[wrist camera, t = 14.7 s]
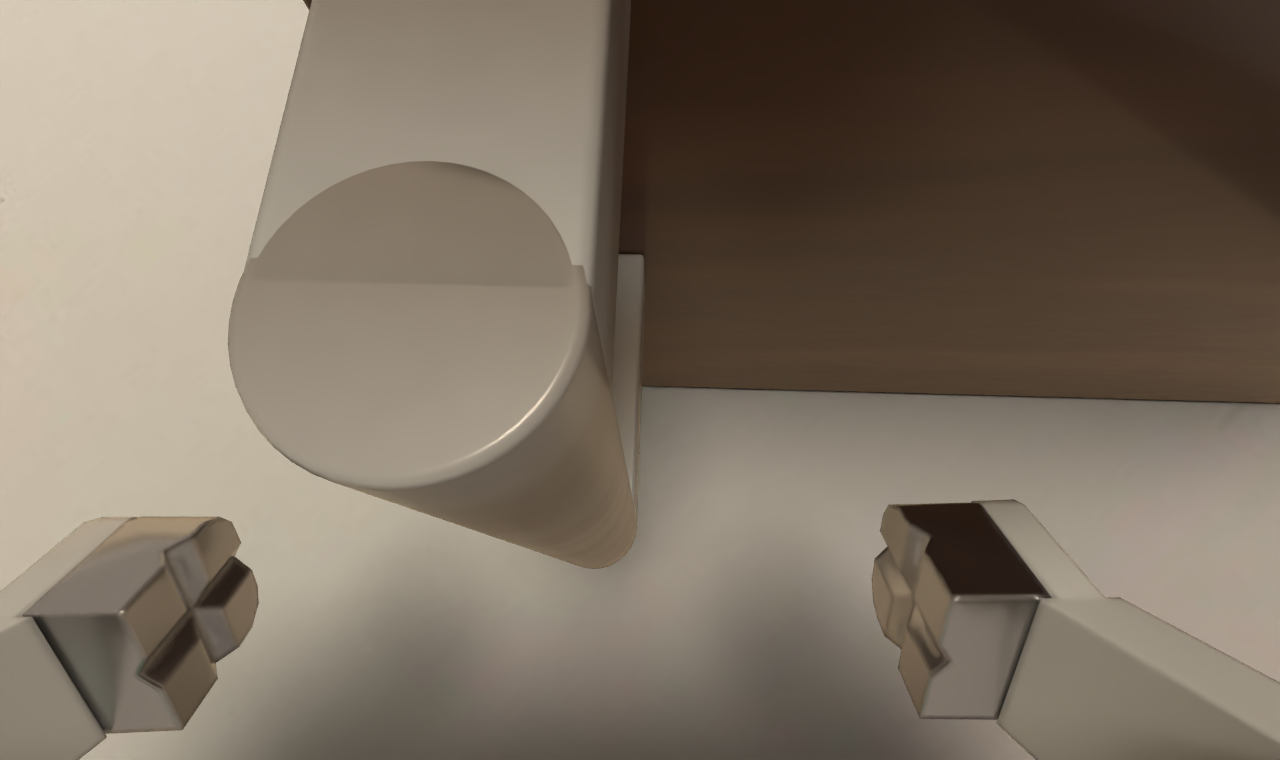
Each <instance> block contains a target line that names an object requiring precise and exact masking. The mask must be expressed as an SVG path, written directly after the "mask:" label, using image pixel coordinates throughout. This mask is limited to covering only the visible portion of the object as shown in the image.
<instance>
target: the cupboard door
mask: <svg viewBox="0 0 1280 760" xmlns="http://www.w3.org/2000/svg"><path fill="white" fill-rule="evenodd" d="M303 1H304V2H305V4H306V6H307V7H308V9H309V14H308V18H307V22H306V26H305V30H304V34H303V38H302V42H301V46H300V50H299V54H298V58H297V62H296V66H295V70H294V74H293V78H292V82H291V86H290V90H289V94H288V98H287V102H286V106H285V110H284V114H283V118H282V122H281V126H280V130H279V134H278V138H277V142H276V146H275V150H274V154H273V158H272V162H271V166H270V169H269V173H268V177H267V181H266V185H265V189H264V193H263V197H262V201H261V205H260V209H259V213H258V217H257V221H256V225H255V229H254V233H253V237H252V241H251V245H250V249H249V253H248V257H247V261H246V265H245V269H244V272H243V274H242V276H241V279H240V281H239V284H238V287H237V290H236V293H235V296H234V299H233V303H232V308H231V314H230V319H229V332H228V349H229V358H230V367H231V370H232V374H233V378H234V382H235V385H236V388H237V391H238V393H239V395H240V397H241V400H242V402H243V404H244V406H245V409H246V411H247V413H248V414H249V416H250V418H251V419H252V421H253V422H254V424H255V425H256V427H257V428H258V430H259V431H260V432H261V433H262V435H263V436H264V437H265V438H266V439H267V440H268V441H269V442H270V443H271V445H272V446H273V447H274V448H275V449H277V450H278V451H279V452H280V453H282V454H283V455H284V456H285V457H286V458H288V459H289V460H290V461H291V462H293V463H295V464H296V465H298V466H300V467H301V468H303V469H305V470H307V471H308V472H310V473H312V474H314V475H317V476H319V477H322V478H324V479H327V480H329V481H332V482H334V483H337V484H340V485H343V486H346V487H349V488H352V489H355V490H357V491H360V492H363V493H366V494H369V495H372V496H375V497H378V498H381V499H384V500H387V501H390V502H393V503H396V504H399V505H402V506H405V507H407V508H410V509H413V510H416V511H419V512H422V513H425V514H428V515H431V516H434V517H437V518H440V519H443V520H446V521H449V522H452V523H455V524H457V525H460V526H463V527H466V528H469V529H472V530H475V531H478V532H481V533H484V534H487V535H490V536H493V537H496V538H499V539H502V540H504V541H507V542H510V543H513V544H516V545H519V546H522V547H525V548H528V549H531V550H534V551H537V552H540V553H543V554H546V555H549V556H552V557H554V558H557V559H560V560H563V561H566V562H569V563H572V564H575V565H578V566H581V567H585V568H591V569H596V568H604V567H607V566H610V565H612V564H614V563H616V562H617V561H619V560H620V559H621V558H622V557H623V556H624V555H625V554H626V553H627V552H628V551H629V549H630V548H631V546H632V544H633V542H634V539H635V535H636V530H637V506H638V477H639V448H640V419H641V390H642V385H647V386H683V387H720V388H756V389H793V390H829V391H866V392H902V393H939V394H975V395H1012V396H1048V397H1084V398H1121V399H1157V400H1194V401H1230V402H1267V403H1280V0H303Z"/></svg>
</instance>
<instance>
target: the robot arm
mask: <svg viewBox="0 0 1280 760" xmlns="http://www.w3.org/2000/svg"><path fill="white" fill-rule="evenodd" d="M880 532H881V534H882V536H883V538H884V540H885V542H886V544H887V546H888V547H887V548H886V549H885V550H884V551H882V552H881V553H880V554H879V555H878V556H877V557H876V558H875V561H874V568H873V575H872V590H873V602H874V606H875V610H876V614H877V618H878V621H879V623H880V626H881V628H882V631H883V633H884V636H885V637H887V638H888V639H889V640H890V641H892V642H893V643H894V644H896V645H897V646H898V647H899V648H901V649H902V651H901V656H900V660H899V665H898V669H899V671H900V673H901V676H902V678H903V680H904V683H905V685H906V687H907V690H908V692H909V694H910V697H911V699H912V701H913V703H914V706H915V708H916V710H917V713H918V715H919V717H920V719H993V720H998V721H997V724H998V725H999V726H1000V727H1001V728H1002V729H1003V730H1004V731H1006V732H1007V733H1008V734H1009V735H1010V736H1011V737H1012V738H1013V739H1014V740H1015V741H1016V742H1018V743H1019V744H1020V745H1021V746H1022V747H1023V748H1024V749H1025V750H1026V751H1027V752H1028V753H1029V754H1031V755H1032V756H1033V757H1034V758H1035V759H1036V760H1280V683H1279V682H1277V681H1276V680H1274V679H1272V678H1270V677H1268V676H1266V675H1264V674H1262V673H1261V672H1259V671H1257V670H1255V669H1253V668H1251V667H1249V666H1247V665H1246V664H1244V663H1242V662H1240V661H1238V660H1236V659H1234V658H1232V657H1230V656H1229V655H1227V654H1225V653H1223V652H1221V651H1219V650H1217V649H1215V648H1214V647H1212V646H1210V645H1208V644H1206V643H1204V642H1202V641H1200V640H1199V639H1197V638H1195V637H1193V636H1191V635H1189V634H1187V633H1185V632H1184V631H1182V630H1180V629H1178V628H1176V627H1174V626H1172V625H1170V624H1168V623H1167V622H1165V621H1163V620H1161V619H1159V618H1157V617H1155V616H1153V615H1152V614H1150V613H1148V612H1146V611H1144V610H1142V609H1140V608H1138V607H1137V606H1135V605H1133V604H1131V603H1129V602H1127V601H1125V600H1123V599H1121V598H1105V597H1104V596H1103V594H1102V593H1101V592H1100V591H1099V590H1098V589H1097V588H1096V586H1095V585H1094V584H1093V583H1092V582H1091V581H1090V579H1089V578H1088V577H1087V576H1086V575H1085V574H1084V573H1083V571H1082V570H1081V569H1080V568H1079V567H1078V566H1077V565H1076V563H1075V562H1074V561H1073V560H1072V559H1071V558H1070V556H1069V555H1068V554H1067V553H1066V552H1065V551H1064V550H1063V548H1062V547H1061V546H1060V545H1059V544H1058V543H1057V542H1056V540H1055V539H1054V538H1053V537H1052V536H1051V535H1050V533H1049V532H1048V531H1047V530H1046V529H1045V528H1044V527H1043V525H1042V524H1041V523H1040V522H1039V521H1038V520H1037V518H1036V517H1035V516H1034V515H1033V514H1032V513H1031V512H1030V510H1029V509H1028V508H1027V507H1026V506H1025V505H1024V504H1022V503H1020V502H1018V501H1016V500H1014V499H1013V500H990V501H972V502H971V503H934V504H892V505H888V507H887V509H886V510H885V512H884V514H883V518H882V523H881V528H880ZM240 544H241V541H240V539H239V537H238V535H237V532H236V530H235V528H234V526H233V524H232V522H231V521H228V520H226V519H223V518H220V517H139V518H138V517H101V518H97V519H94V520H90V521H87V522H84V523H83V524H81V525H80V526H79V527H78V528H76V529H75V530H74V531H73V532H72V533H70V534H69V535H68V536H67V537H66V538H64V539H63V540H62V541H61V542H60V543H58V544H57V545H56V546H55V547H54V548H52V549H51V550H50V551H49V552H48V553H46V554H45V555H44V556H43V557H41V558H40V559H39V560H38V561H37V562H35V563H34V564H33V565H32V566H31V567H29V568H28V569H27V570H26V571H25V572H23V573H22V574H21V575H20V576H19V577H17V578H16V579H15V580H14V581H12V582H11V583H10V584H9V585H8V586H6V587H5V588H4V589H3V590H2V591H0V760H79V759H80V758H81V757H83V756H84V755H85V754H86V753H88V752H89V751H90V750H92V749H93V748H94V747H95V746H97V745H98V744H99V743H100V742H102V741H103V740H104V739H105V738H106V737H107V736H106V735H105V734H107V733H129V732H151V731H174V730H183V729H184V727H185V726H186V724H187V723H188V721H189V720H190V718H191V717H192V715H193V714H194V713H195V711H196V710H197V708H198V707H199V705H200V704H201V702H202V701H203V699H204V698H205V696H206V695H207V694H208V692H209V691H210V689H211V688H212V686H213V685H214V683H215V682H216V680H217V679H218V677H217V669H216V662H218V661H219V660H221V659H222V658H224V657H225V656H227V655H228V654H230V653H231V652H232V651H234V650H235V649H237V648H238V647H239V646H240V645H241V643H242V642H243V640H244V639H245V637H246V636H247V634H248V632H249V631H250V629H251V628H252V625H253V622H254V618H255V614H256V611H257V607H258V604H259V602H258V586H257V583H256V580H255V577H254V574H253V572H252V570H251V569H250V568H249V567H247V566H246V565H245V564H243V563H242V562H241V561H240V560H238V559H237V558H236V557H234V556H235V554H236V552H237V550H238V548H239V546H240Z"/></svg>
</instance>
